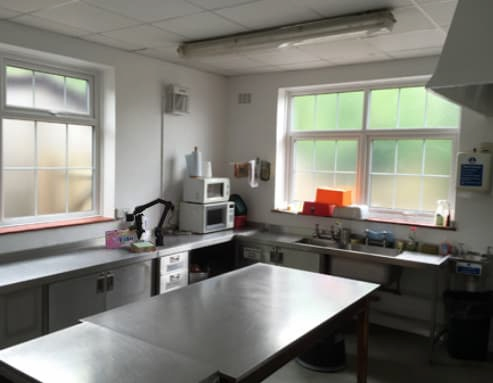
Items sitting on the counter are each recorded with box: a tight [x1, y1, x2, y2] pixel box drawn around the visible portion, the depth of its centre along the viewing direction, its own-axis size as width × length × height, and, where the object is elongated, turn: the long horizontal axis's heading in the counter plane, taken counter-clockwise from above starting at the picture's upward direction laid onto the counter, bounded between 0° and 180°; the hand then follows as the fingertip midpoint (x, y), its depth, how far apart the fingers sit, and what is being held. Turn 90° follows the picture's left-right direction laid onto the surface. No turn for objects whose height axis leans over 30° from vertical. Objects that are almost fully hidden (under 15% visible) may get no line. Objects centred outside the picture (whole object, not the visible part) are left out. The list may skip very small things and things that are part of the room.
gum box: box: [104, 228, 135, 250], centre depth 371 cm, size 24×8×14 cm, turn 135°
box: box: [129, 240, 157, 254], centre depth 357 cm, size 16×18×5 cm
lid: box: [133, 239, 154, 248], centre depth 357 cm, size 13×18×3 cm
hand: (138, 240), depth 368 cm, fingers closed
